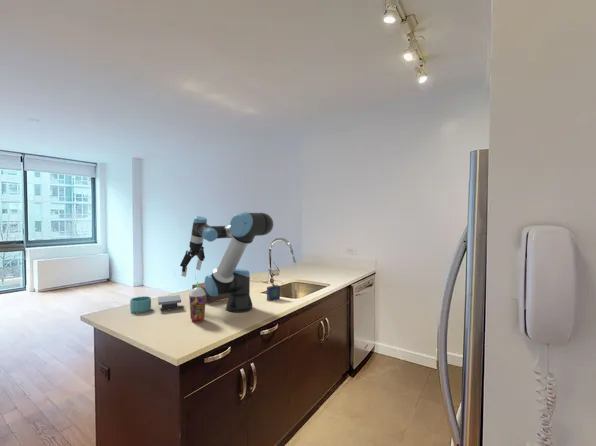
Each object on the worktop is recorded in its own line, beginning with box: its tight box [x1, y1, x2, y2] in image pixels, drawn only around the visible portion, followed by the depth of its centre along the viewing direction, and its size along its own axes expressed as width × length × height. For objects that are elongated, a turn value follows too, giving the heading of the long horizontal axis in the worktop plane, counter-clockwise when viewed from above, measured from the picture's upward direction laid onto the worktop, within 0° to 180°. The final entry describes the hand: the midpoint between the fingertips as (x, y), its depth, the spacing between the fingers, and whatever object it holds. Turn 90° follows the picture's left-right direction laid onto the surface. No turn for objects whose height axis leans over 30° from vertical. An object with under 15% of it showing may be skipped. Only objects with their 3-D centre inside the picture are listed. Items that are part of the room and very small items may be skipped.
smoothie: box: [188, 281, 206, 323], centre depth 159 cm, size 8×8×20 cm
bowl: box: [129, 296, 152, 314], centre depth 176 cm, size 10×10×6 cm
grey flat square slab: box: [157, 294, 182, 306], centre depth 181 cm, size 12×12×2 cm
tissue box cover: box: [191, 282, 229, 305], centre depth 204 cm, size 26×14×10 cm, turn 143°
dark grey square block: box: [161, 303, 178, 312], centre depth 181 cm, size 8×8×4 cm
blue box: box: [266, 282, 281, 302], centre depth 200 cm, size 9×3×11 cm, turn 121°
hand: (191, 272), depth 193 cm, fingers open, 13 cm apart
